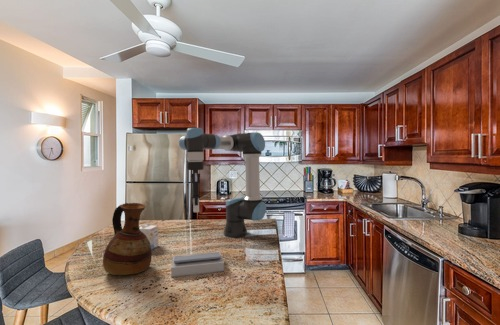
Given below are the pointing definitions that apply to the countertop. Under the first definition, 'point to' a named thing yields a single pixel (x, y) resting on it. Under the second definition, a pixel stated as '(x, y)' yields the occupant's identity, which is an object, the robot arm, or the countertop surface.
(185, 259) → the cover
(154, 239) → the ink box
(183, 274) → the open grey pill case
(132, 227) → the ceramic pitcher
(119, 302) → the countertop surface
